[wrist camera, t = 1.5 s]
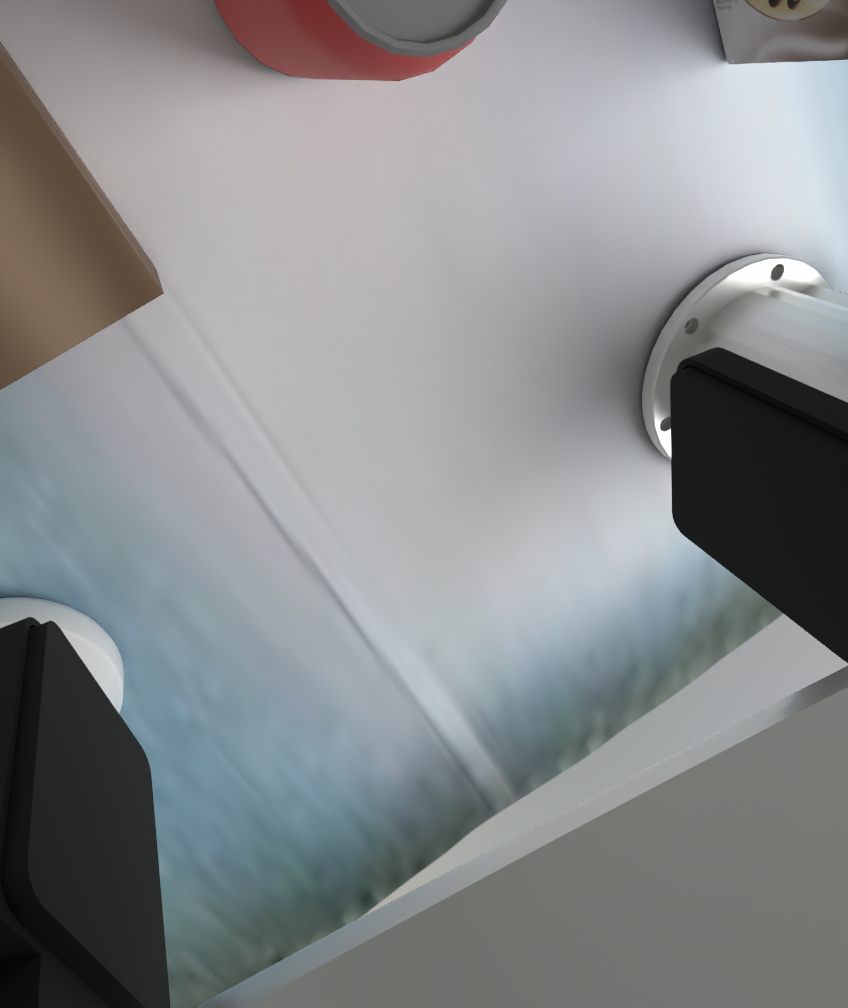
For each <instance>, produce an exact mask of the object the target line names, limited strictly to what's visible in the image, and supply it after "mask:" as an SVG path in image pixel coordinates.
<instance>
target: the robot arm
mask: <svg viewBox="0 0 848 1008" xmlns="http://www.w3.org/2000/svg"><path fill="white" fill-rule="evenodd" d="M642 413H643V417H644V422H645V426H646V430H647V432H648V434H649V436H650V438H651V440H652V442H653V444H654V445H655V446H656V448H657V449H658V450H659V451H660V452H661V453H662V454H663V455H664V456H665V457H667V458H668V459H670V460H671V470H672V514H673V519H674V522H675V524H676V526H677V528H678V529H679V531H680V532H681V533H682V534H683V535H684V536H685V537H687V538H688V539H689V540H690V541H692V542H693V543H694V544H696V545H697V546H698V547H699V548H701V549H702V550H703V551H704V552H706V553H707V554H708V555H710V556H711V557H712V558H713V559H715V560H716V561H717V562H719V563H720V564H721V565H722V566H724V567H725V568H726V569H727V570H729V571H730V572H731V573H733V574H734V575H735V576H736V577H738V578H739V579H740V580H742V581H743V582H744V583H745V584H747V585H748V586H749V587H751V588H752V589H753V590H754V591H756V592H757V593H758V594H759V595H761V596H762V597H763V598H765V599H766V600H767V601H768V602H770V603H771V604H772V605H774V606H775V607H776V608H777V609H779V610H780V611H781V612H783V613H784V614H785V615H786V616H788V617H789V618H790V619H791V620H793V621H794V622H795V623H797V624H798V625H799V626H801V627H802V628H803V629H804V630H806V631H807V632H808V633H809V634H811V635H812V636H813V637H814V638H816V639H817V640H818V641H820V642H821V643H822V644H824V645H825V646H826V647H827V648H829V649H830V650H831V651H832V652H834V653H835V654H836V655H838V656H839V657H840V658H841V659H843V660H844V661H846V662H847V663H848V294H845V293H841V292H838V291H835V290H831V289H829V287H828V285H827V283H826V281H825V279H824V278H823V276H822V275H821V274H820V273H819V272H818V271H817V270H816V269H815V268H814V267H813V266H811V265H809V264H807V263H806V262H804V261H802V260H800V259H796V258H793V257H789V256H786V255H782V254H770V253H763V254H757V255H751V256H746V257H744V258H741V259H739V260H736V261H734V262H731V263H729V264H727V265H725V266H724V267H722V268H720V269H719V270H717V271H716V272H714V273H712V274H711V275H709V276H708V277H707V278H706V279H705V280H703V281H702V282H701V283H700V284H699V285H698V286H697V287H695V288H694V289H693V290H692V291H691V292H690V293H689V294H688V295H687V297H686V298H685V299H684V300H683V301H682V302H681V304H680V305H679V306H678V307H677V308H676V309H675V311H674V312H673V314H672V315H671V317H670V318H669V320H668V322H667V323H666V325H665V326H664V328H663V329H662V331H661V333H660V335H659V337H658V340H657V342H656V344H655V346H654V348H653V350H652V353H651V356H650V359H649V362H648V365H647V369H646V372H645V377H644V384H643V391H642ZM0 1008H170V996H169V984H168V972H167V960H166V948H165V936H164V924H163V912H162V900H161V887H160V875H159V863H158V851H157V839H156V827H155V815H154V803H153V791H152V779H151V770H150V766H149V762H148V759H147V757H146V754H145V752H144V750H143V748H142V747H141V745H140V744H139V742H138V741H137V739H136V738H135V736H134V735H133V733H132V732H131V731H130V729H129V728H128V726H127V725H126V723H125V722H124V720H123V719H122V717H121V716H120V715H119V713H118V712H117V710H116V709H115V707H114V706H113V704H112V703H111V701H110V700H109V699H108V697H107V696H106V694H105V693H104V691H103V690H102V688H101V687H100V685H99V684H98V683H97V681H96V680H95V678H94V677H93V675H92V674H91V672H90V671H89V669H88V668H87V667H86V665H85V664H84V662H83V661H82V659H81V658H80V656H79V655H78V653H77V652H76V651H75V649H74V648H73V646H72V645H71V643H70V642H69V640H68V639H67V637H66V636H65V635H64V633H63V632H62V630H61V629H60V627H59V626H58V625H57V624H56V623H55V622H54V621H48V622H45V623H43V624H40V623H39V621H37V620H36V619H35V618H33V617H27V618H25V619H22V620H20V621H17V622H15V623H12V624H10V625H7V626H5V627H2V628H0ZM195 1008H848V666H846V667H845V668H842V669H840V670H839V671H837V672H835V673H833V674H831V675H829V676H827V677H825V678H823V679H821V680H819V681H817V682H815V683H813V684H811V685H809V686H807V687H805V688H803V689H801V690H800V691H797V692H795V693H793V694H791V695H789V696H788V697H785V698H784V699H782V700H780V701H778V702H776V703H774V704H772V705H770V706H768V707H766V708H764V709H762V710H760V711H758V712H756V713H754V714H752V715H750V716H748V717H746V718H744V719H742V720H741V721H739V722H737V723H735V724H733V725H731V726H729V727H727V728H725V729H723V730H721V731H719V732H717V733H715V734H713V735H711V736H709V737H708V738H706V739H704V740H702V741H700V742H698V743H696V744H694V745H692V746H690V747H688V748H686V749H684V750H682V751H680V752H678V753H676V754H675V755H673V756H671V757H669V758H667V759H665V760H663V761H661V762H659V763H657V764H655V765H653V766H651V767H649V768H648V769H645V770H644V771H642V772H640V773H638V774H636V775H634V776H632V777H630V778H628V779H626V780H624V781H622V782H621V783H618V784H616V785H615V786H613V787H611V788H609V789H607V790H605V791H603V792H601V793H599V794H597V795H595V796H593V797H591V798H590V799H587V800H586V801H584V802H582V803H580V804H578V805H576V806H574V807H572V808H570V809H568V810H566V811H564V812H563V813H560V814H559V815H557V816H555V817H553V818H551V819H549V820H547V821H545V822H543V823H541V824H540V825H537V826H535V827H534V828H532V829H530V830H528V831H526V832H524V833H522V834H520V835H518V836H516V837H514V838H512V839H510V840H509V841H507V842H505V843H503V844H501V845H499V846H497V847H495V848H493V849H491V850H489V851H488V852H486V853H484V854H482V855H480V856H478V857H476V858H474V859H472V860H470V861H469V862H467V863H465V864H463V865H461V866H459V867H457V868H455V869H453V870H451V871H450V872H447V873H445V874H444V875H442V876H440V877H438V878H436V879H434V880H432V881H430V882H428V883H426V884H424V885H423V886H421V887H419V888H417V889H415V890H413V891H411V892H409V893H407V894H405V895H404V896H402V897H400V898H398V899H396V900H394V901H392V902H390V903H388V904H386V905H384V906H382V907H381V908H379V909H377V910H375V911H373V912H371V913H369V914H367V915H365V916H363V917H361V918H359V919H358V920H356V921H354V922H352V923H350V924H348V925H346V926H344V927H342V928H340V929H338V930H337V931H335V932H333V933H331V934H329V935H327V936H325V937H324V938H322V939H320V940H318V941H316V942H314V943H313V944H311V945H309V946H307V947H305V948H303V949H302V950H300V951H298V952H296V953H294V954H292V955H290V956H289V957H287V958H285V959H283V960H281V961H279V962H278V963H276V964H274V965H272V966H270V967H268V968H267V969H265V970H263V971H261V972H259V973H257V974H256V975H254V976H252V977H250V978H248V979H246V980H244V981H243V982H241V983H239V984H237V985H235V986H233V987H232V988H230V989H228V990H226V991H224V992H222V993H221V994H219V995H217V996H215V997H213V998H211V999H210V1000H208V1001H206V1002H204V1003H202V1004H200V1005H198V1006H197V1007H195Z"/></svg>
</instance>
